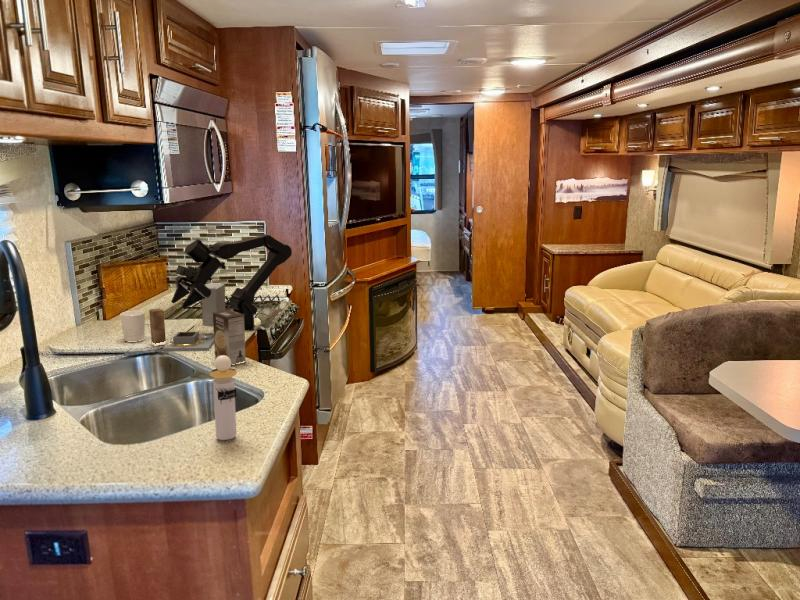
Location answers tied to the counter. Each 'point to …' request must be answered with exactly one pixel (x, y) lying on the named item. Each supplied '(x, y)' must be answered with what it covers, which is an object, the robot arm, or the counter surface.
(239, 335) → the coffee box
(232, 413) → the perfume bottle
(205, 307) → the skincare box
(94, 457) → the counter surface
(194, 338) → the gears
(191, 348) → the board
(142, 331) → the white cup
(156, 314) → the peg
